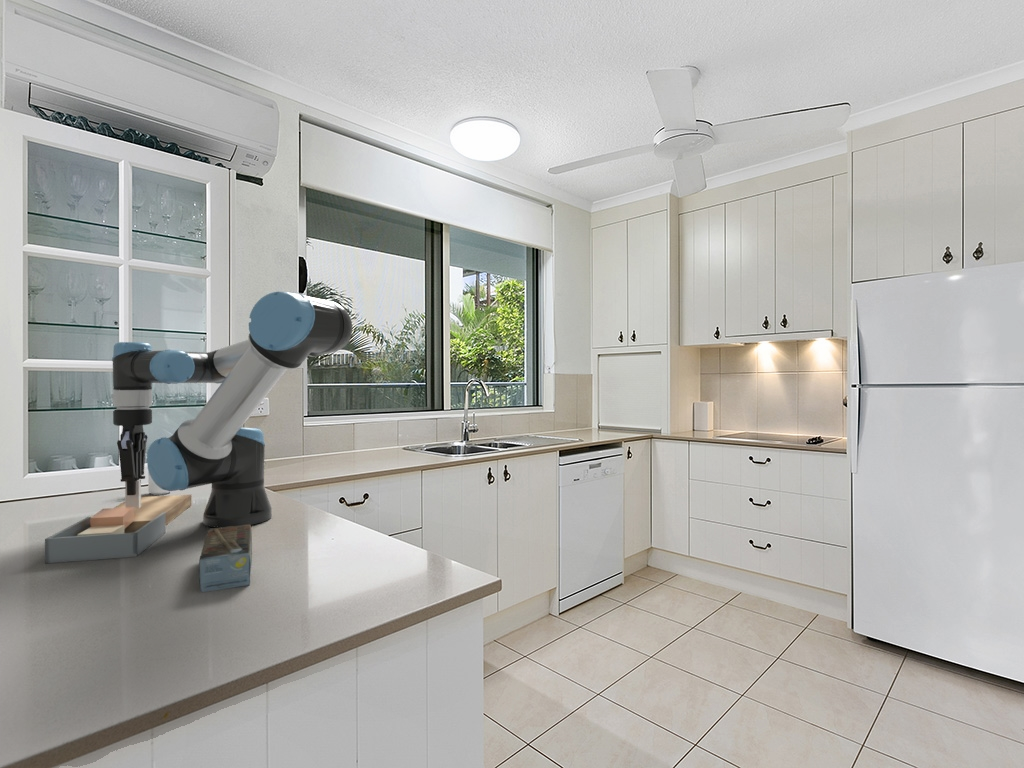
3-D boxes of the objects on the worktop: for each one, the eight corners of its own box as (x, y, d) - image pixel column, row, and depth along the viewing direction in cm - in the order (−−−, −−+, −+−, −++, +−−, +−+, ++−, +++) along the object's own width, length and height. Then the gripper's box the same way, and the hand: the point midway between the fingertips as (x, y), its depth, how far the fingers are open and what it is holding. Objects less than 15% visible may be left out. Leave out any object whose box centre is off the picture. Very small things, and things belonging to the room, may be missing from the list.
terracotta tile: (134, 519, 122) (134, 507, 122) (123, 529, 117) (123, 516, 116) (103, 521, 121) (103, 508, 120) (90, 531, 115) (90, 518, 115)
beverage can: (143, 495, 163) (143, 454, 162) (159, 490, 169) (159, 452, 169) (161, 495, 162) (161, 455, 161) (177, 491, 168) (177, 452, 168)
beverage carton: (196, 594, 89) (196, 554, 89) (207, 559, 106) (207, 525, 106) (250, 586, 92) (250, 548, 92) (252, 553, 110) (252, 521, 110)
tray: (165, 532, 123) (165, 512, 123) (136, 556, 107) (136, 533, 107) (87, 537, 119) (87, 516, 119) (45, 563, 103) (44, 539, 103)
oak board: (191, 505, 150) (191, 494, 150) (155, 533, 123) (155, 520, 123) (132, 508, 146) (132, 497, 146) (82, 538, 119) (82, 524, 119)
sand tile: (124, 538, 117) (124, 524, 117) (112, 547, 111) (112, 532, 111) (91, 540, 115) (91, 526, 115) (77, 549, 109) (77, 534, 109)
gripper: (124, 406, 133) (124, 503, 133) (103, 409, 121) (103, 515, 121) (159, 406, 135) (159, 501, 136) (142, 409, 123) (142, 513, 123)
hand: (133, 507), depth 128 cm, fingers closed
